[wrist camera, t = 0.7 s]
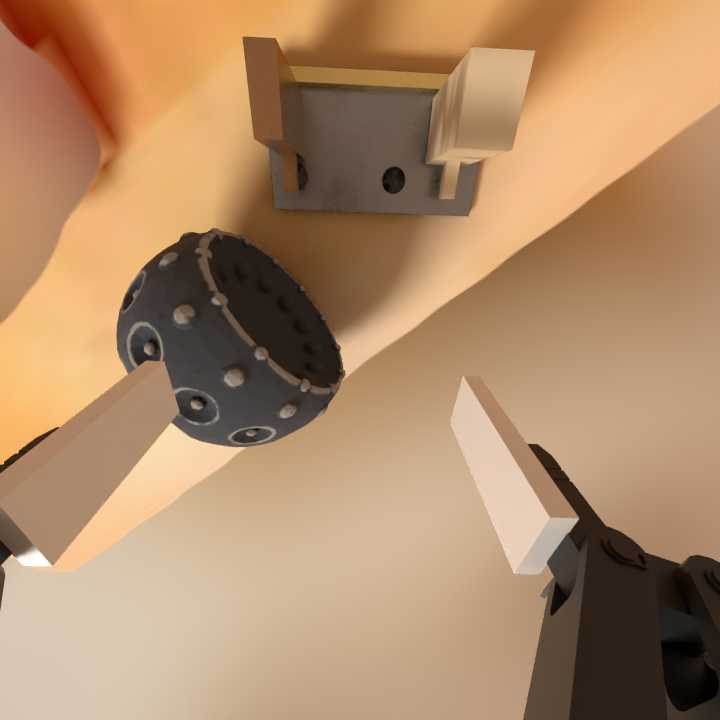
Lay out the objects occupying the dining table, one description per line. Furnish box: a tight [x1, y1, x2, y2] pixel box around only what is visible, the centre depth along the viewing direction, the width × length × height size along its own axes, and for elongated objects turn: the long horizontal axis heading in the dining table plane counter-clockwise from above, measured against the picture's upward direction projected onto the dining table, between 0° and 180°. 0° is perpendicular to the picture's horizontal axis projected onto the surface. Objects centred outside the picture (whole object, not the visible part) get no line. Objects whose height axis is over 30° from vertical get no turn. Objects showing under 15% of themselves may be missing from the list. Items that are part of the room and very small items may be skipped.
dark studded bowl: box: [116, 228, 346, 447], centre depth 29 cm, size 11×20×20 cm, turn 36°
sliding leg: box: [425, 47, 535, 199], centre depth 24 cm, size 8×4×10 cm, turn 178°
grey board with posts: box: [243, 37, 479, 216], centre depth 25 cm, size 11×21×11 cm, turn 88°
